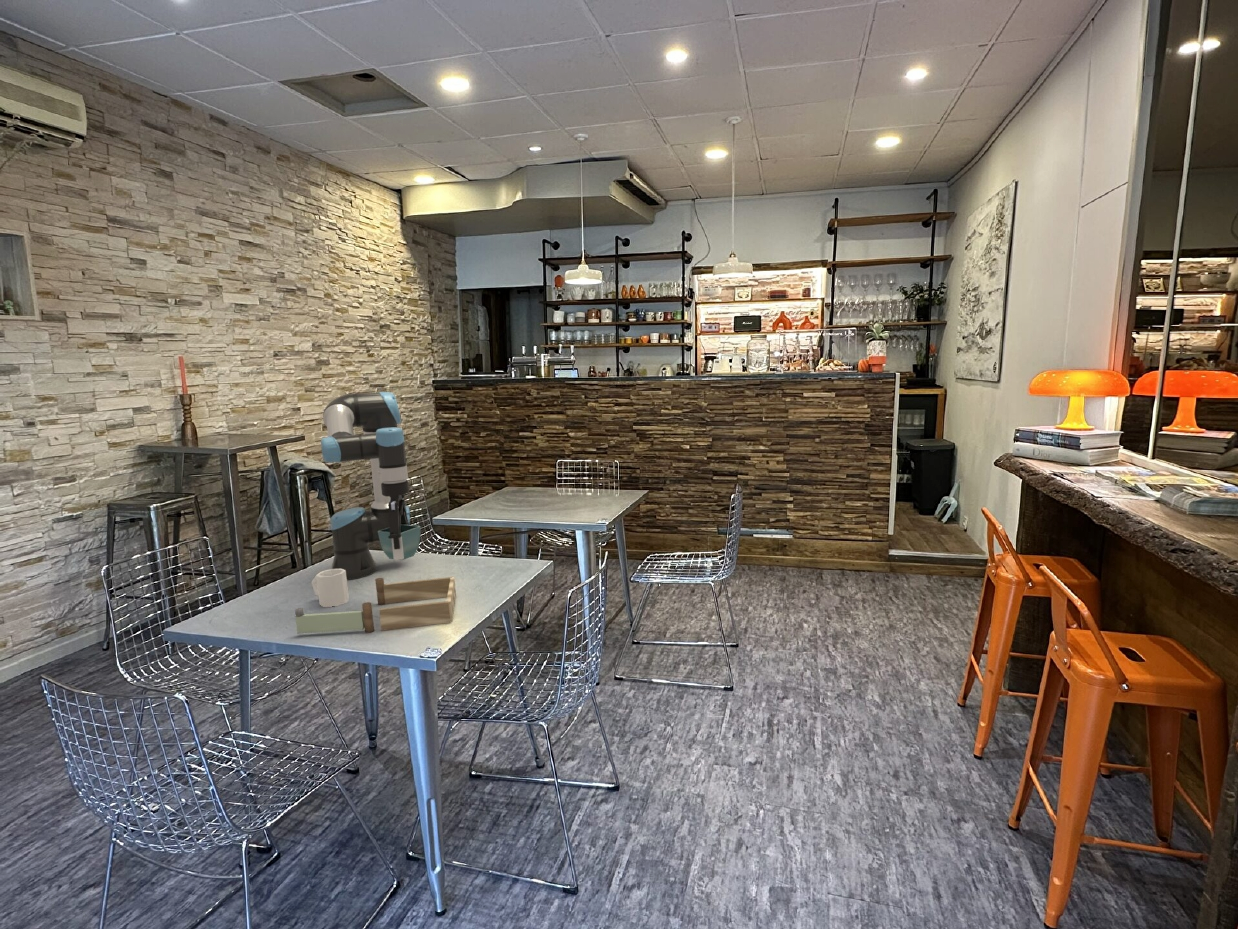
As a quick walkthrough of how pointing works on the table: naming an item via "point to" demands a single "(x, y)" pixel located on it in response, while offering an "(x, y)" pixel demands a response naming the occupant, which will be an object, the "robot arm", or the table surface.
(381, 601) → the wooden u-shaped enclosure
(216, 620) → the table surface
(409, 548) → the flower pot
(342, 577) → the mug
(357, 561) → the robot arm
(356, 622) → the gate
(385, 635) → the table surface
